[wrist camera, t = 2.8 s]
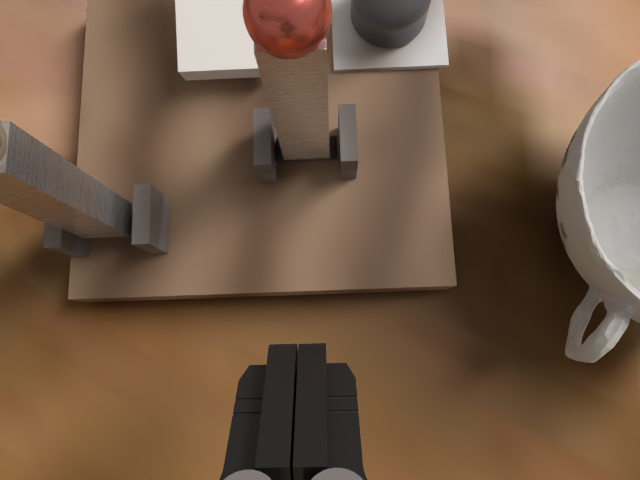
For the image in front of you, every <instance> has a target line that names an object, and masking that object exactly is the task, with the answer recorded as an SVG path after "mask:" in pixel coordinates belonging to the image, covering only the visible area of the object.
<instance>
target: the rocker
mask: <svg viewBox="0 0 640 480" xmlns="http://www.w3.org/2000/svg"><path fill="white" fill-rule="evenodd" d="M242 9H243V0H175V10H176V35H177V59H178V72H179V73H180V75H181V76H182V77H183V78H184V79H185V80H186V81H188V80H210V79H232V78H255V77H261V76H260V72H259V69H258V65H257V62H256V58H255V54H254V42H253V40H252V39H251V37H250V36H249V34H248V32H247V29H246V27H245V24H244V19H243V11H242Z"/></svg>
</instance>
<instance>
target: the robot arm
mask: <svg viewBox="0 0 640 480" xmlns="http://www.w3.org/2000/svg"><path fill="white" fill-rule="evenodd" d="M220 480H367V478H366V476H365V473H364V470H363V463H362V451H361V439H360V427H359V415H358V403H357V391H356V379H355V377H354V375H353V373H352V372H351V370H350V368H349V367H348V365H347V364H346V363H328V364H326V343H320V344H299V346H298V350H297V344H275V345H269V349H268V358H267V365H249V367H248V368H247V370H246V371H245V373H244V374H243V375H242V377H241V378H240V380H239V383H238V388H237V394H236V402H235V406H234V411H233V417H232V423H231V428H230V434H229V440H228V446H227V451H226V457H225V463H224V468H223V472H222V475H221V477H220Z"/></svg>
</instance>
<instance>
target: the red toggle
mask: <svg viewBox="0 0 640 480" xmlns="http://www.w3.org/2000/svg"><path fill="white" fill-rule="evenodd" d="M242 11H243V19H244V24H245V27H246V29H247V32H248V34H249V36H250V37H251V39H252V40H253V42H254V54H255V58H256V62H257V65H258V69H259V72H260V76H261V79H262V83H263V87H264V90H265V94H266V97H267V101H268V104H269V108H270V112H271V115H272V119H273V122H274V126H275V129H276V133H277V136H278V138H276V157H277V162H291V161H315V160H338V146H337V135H329V114H328V77H327V43H326V36H327V34H328V31H329V28H330V25H331V20H332V3H331V0H243V9H242Z"/></svg>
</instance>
